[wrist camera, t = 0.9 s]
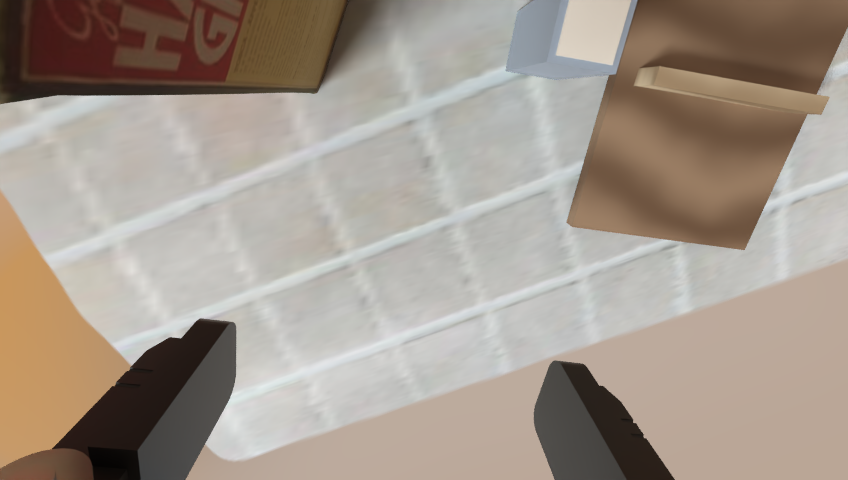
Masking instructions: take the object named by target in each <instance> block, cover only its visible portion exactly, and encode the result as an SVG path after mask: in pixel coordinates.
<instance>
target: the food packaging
mask: <svg viewBox="0 0 848 480" xmlns="http://www.w3.org/2000/svg"><path fill="white" fill-rule="evenodd" d="M347 3H348V0H0V104H4V103H10V102H17V101H23V100H30V99H36V98H43V97H49V96H56V95H83V96H88V95H192V94H247V93H291V92H294V93H313V94H315V93H317V91H318V89H319V87H320V85H321V82H322V80H323V77H324V74H325V72H326V69H327V66H328V63H329V59H330V56H331V53H332V50H333V47H334V43H335V40H336V37H337V34H338V31H339V28H340V25H341V22H342V19H343V16H344V12H345V9H346V6H347Z"/></svg>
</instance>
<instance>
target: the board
mask: <svg viewBox="0 0 848 480" xmlns="http://www.w3.org/2000/svg"><path fill="white" fill-rule="evenodd" d="M847 27H848V0H638V1H637V4H636V7H635V11H634V14H633V18H632V21H631V24H630V28H629V31H628V35H627V38H626V41H625V45H624V48H623V51H622V55H621V58H620V62H619V65H618V68H617V72H616V74H613V75H609V77H608V81H607V84H606V88H605V91H604V95H603V98H602V102H601V105H600V109H599V112H598V115H597V119H596V122H595V126H594V129H593V133H592V136H591V140H590V143H589V147H588V150H587V153H586V157H585V160H584V164H583V167H582V171H581V174H580V178H579V181H578V185H577V188H576V191H575V195H574V198H573V202H572V205H571V209H570V212H569V216H568V219H567V223H568V224H569V225H570V226H572V227H577V228H585V229H592V230H600V231H607V232H615V233H622V234H629V235H637V236H644V237H652V238H659V239H667V240H674V241H681V242H689V243H696V244H704V245H711V246H719V247H726V248H733V249H741V250H745V248H746V246H747V243H748V241H749V239H750V237H751V235H752V233H753V230H754V228H755V226H756V224H757V222H758V220H759V217H760V215H761V213H762V211H763V209H764V207H765V204H766V202H767V200H768V198H769V196H770V194H771V191H772V189H773V187H774V185H775V183H776V181H777V179H778V176H779V174H780V172H781V170H782V168H783V166H784V163H785V161H786V159H787V157H788V155H789V153H790V150H791V148H792V146H793V144H794V142H795V140H796V137H797V135H798V133H799V131H800V129H801V127H802V124H803V122H804V120H805V118H806V116H807V114H820V115H821V114H822V112H823V110H824V108H825V106H826V104H827V102H828V99H829V97H827V96H821V95H816V94H817V92H818V90H819V88H820V86H821V83H822V81H823V79H824V77H825V75H826V73H827V70H828V68H829V66H830V64H831V62H832V60H833V58H834V55H835V53H836V51H837V49H838V47H839V45H840V42H841V40H842V38H843V36H844V34H845V32H846V29H847Z"/></svg>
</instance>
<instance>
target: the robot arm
mask: <svg viewBox="0 0 848 480" xmlns="http://www.w3.org/2000/svg"><path fill="white" fill-rule="evenodd" d="M235 377H236V325H235V323H234V322H227V321H219V320H210V319H199V320H197V321H196V322H195V323H194V324H193V326H192V327H191V328H190V329H189V330H188V331H187V332H186V334H185V335H184V336H183V337H182V338H181V339H180V338H171V337H170V338H168V339H166V340H164V341H163V342H161V343H159V344H157V345H156V346H154V347H152V348H150V349H149V350H147V351H146V352H145V353H144V354H143V355H142V356H141V357H140V358H139V359H138V360H137V361H136V362H135V363H134V364H133V365H132V366H131V367H130V370H129V371H127V372H126V373H125V374H124V375H123V376H122V377H121V378H120V379H119V380H118V381H117V382H116V385H115V386H112V387H111V388H110V390H108V391H107V392H106V394H105V395H104V396H103V397H102V398H101V399H100V400H99V401H98V402H97V403H96V404H95V405H94V406H93V407H92V408H91V409H90V410H89V411H88V412H87V413H86V414H85V415H84V417H82V419H80V421H79V422H78V423H77V424H76V425H75V426H74V427H73V428H72V429H71V430H70V431H69V432H68V433H67V434H66V435H65V436H64V437H63V438H62V439H61V440H60V441H59V443H57V444H56V445H55V446H54V447H53V448H52V449H51V450H46V451H41V452H37V453H34V454H31V455H28V456H25V457H23V458H20V459H18V460H16V461H14V462H12V463H10V464H8V465H6V466H4V467H3V468H1V469H0V480H185V479H186V478H187V476H188V474H189V472H190V470H191V468H192V466H193V465H194V463H195V461H196V459H197V457H198V455H199V454H200V452H201V450H202V448H203V447H204V445H205V443H206V441H207V439H208V437H209V436H210V434H211V432H212V430H213V428H214V426H215V425H216V423H217V421H218V419H219V417H220V415H221V414H222V412H223V410H224V408H225V406H226V405H227V403H228V401H229V399H230V396H231V394H232V391H233V387H234V383H235ZM534 424H535V429H536V432H537V435H538V437H539V440H540V443H541V445H542V448H543V450H544V453H545V456H546V458H547V461H548V463H549V466H550V468H551V471H552V474H553V476H554V479H555V480H675V479H674V478H673V477H672V475H671V474H670V472H669V471H668V469H667V468H666V467H665V465H664V463H663V462H662V461H661V459H660V458H659V456H658V455H657V453H656V452H655V451H654V449H653V448H652V446H651V445H650V443H649V442H648V440H647V439H645V438H644V437H643V433H642V432H641V430H640V429H639V427H638V426H637V424H636V423H633V419H632V417H631V416H630V415H629V413H628V411H627V410H626V409H625V407H624V406H623V404H622V403H621V402H620V401H619V400H618V399H617V398H616V397H615V396H613V395H612V394H611V393H610V392H609V391H608V390H607V389H606V388H605V387H603V386H599V385H598V383H597V382H596V380H595V379H594V377H593V376H592V374H591V373H590V371H589V370H588V368H587V367H586V366H585V365H584V364H580V363H572V362H563V361H553V362H552V363H551V364H550V366H549V368H548V371H547V374H546V377H545V379H544V382H543V385H542V388H541V391H540V394H539V396H538V399H537V402H536V405H535V409H534Z"/></svg>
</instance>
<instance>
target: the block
mask: <svg viewBox="0 0 848 480" xmlns="http://www.w3.org/2000/svg"><path fill="white" fill-rule="evenodd" d="M637 1H638V0H533V1H532V2H530V3H529V4H527V5H526V6H525V7H523V8H522V9H520V10H519V11H518V13H517V17H516V22H515V27H514V32H513V37H512V42H511V47H510V51H509V56H508V61H507V66H506V71H508V72H514V73H520V74H525V75H531V76H537V77H543V78H548V79H554V80H559V79H570V78H581V77H592V76H603V75H613V74H616V72H617V68H618V65H619V62H620V58H621V55H622V51H623V48H624V45H625V41H626V38H627V35H628V31H629V28H630V24H631V21H632V18H633V14H634V11H635V7H636V4H637Z"/></svg>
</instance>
